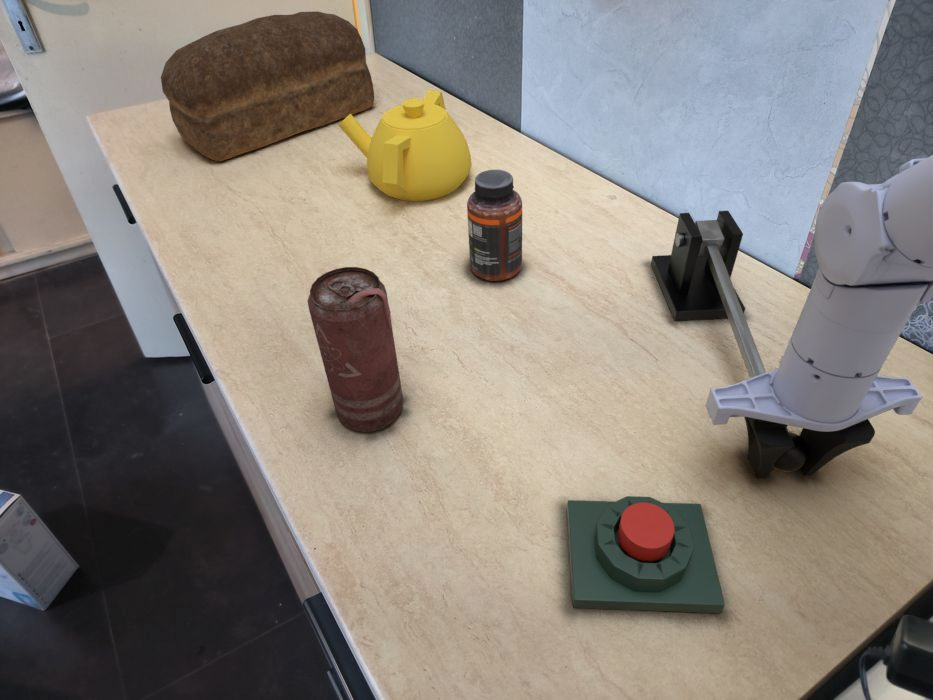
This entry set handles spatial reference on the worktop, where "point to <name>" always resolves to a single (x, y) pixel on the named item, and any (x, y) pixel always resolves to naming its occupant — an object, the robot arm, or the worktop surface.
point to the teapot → (414, 149)
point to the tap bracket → (695, 270)
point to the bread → (266, 81)
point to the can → (357, 347)
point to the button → (645, 531)
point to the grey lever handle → (743, 329)
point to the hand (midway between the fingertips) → (778, 468)
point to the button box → (641, 582)
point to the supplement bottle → (495, 226)
